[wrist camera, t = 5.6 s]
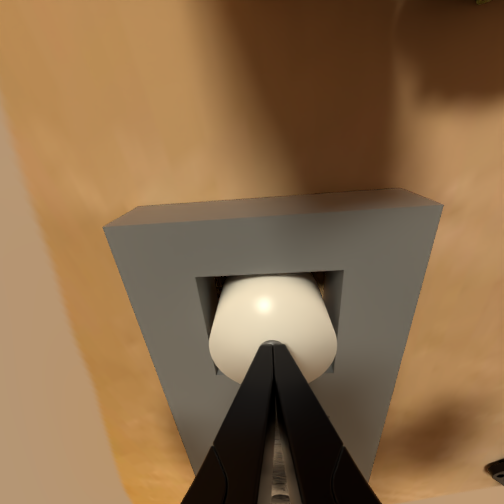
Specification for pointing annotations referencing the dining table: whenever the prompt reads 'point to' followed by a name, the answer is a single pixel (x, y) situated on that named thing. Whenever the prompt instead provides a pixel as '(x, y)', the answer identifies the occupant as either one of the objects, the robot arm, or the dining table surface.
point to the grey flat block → (279, 261)
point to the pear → (481, 1)
